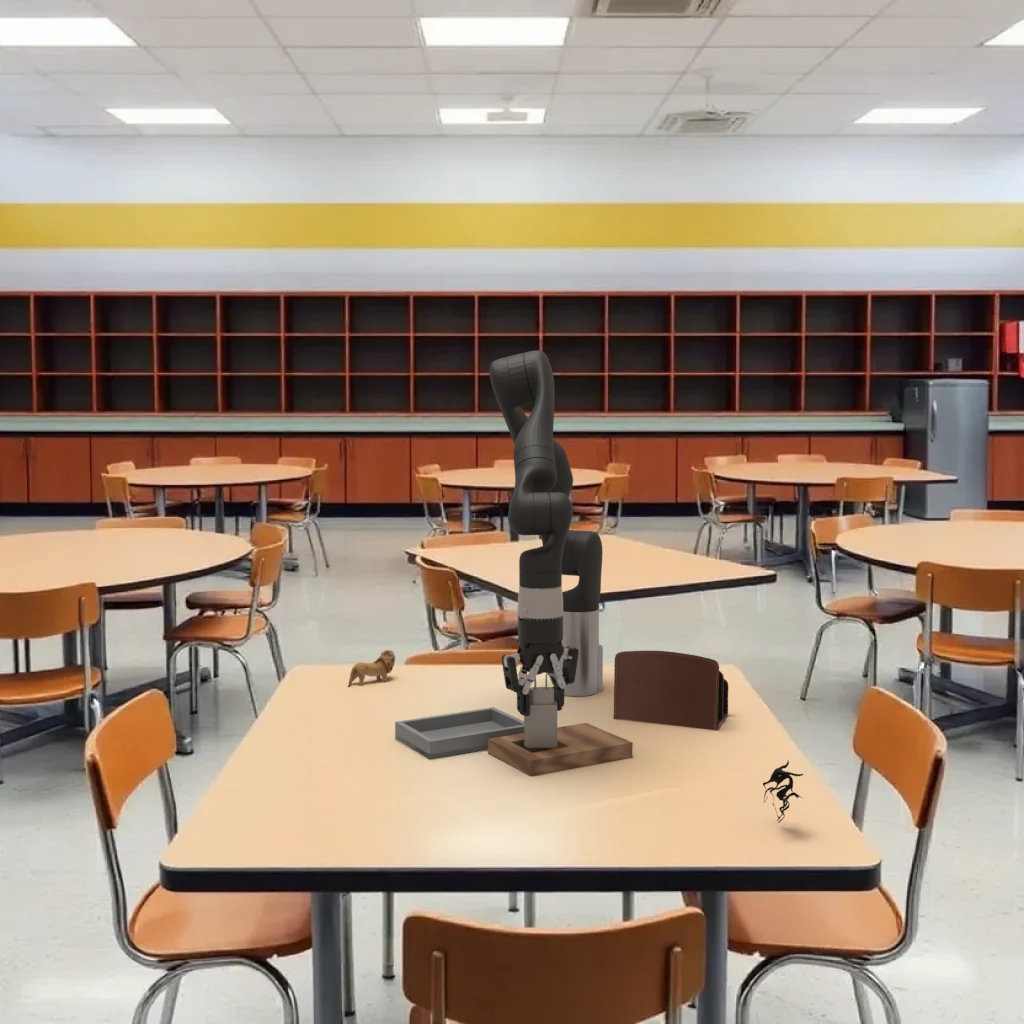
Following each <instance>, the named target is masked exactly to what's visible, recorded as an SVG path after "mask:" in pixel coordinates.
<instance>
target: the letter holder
mask: <svg viewBox="0 0 1024 1024" xmlns="http://www.w3.org/2000/svg"><path fill="white" fill-rule="evenodd" d="M613 675H614V681H613V682H614V685H613V686H614V687H613V715H612V716H613V717H612V718H613V719H614V720H621V721H630V722H638V723H645V724H654V725H655V724H656V725H663V726H665V725H666V726H671V727H683V728H691V729H701V730H706V731H707V730H708V731H718V730H719V729H720V728H721V726H722V725H723V724H724V722H725V721H727V720H726V719H727V718H728V717H729V682H728V681H727V679H725V675H724V674H723V673H722V672H721V671H720V664H719V663H718V661H717V660H715V659H713V658H709V657H704V656H700V655H695V654H690V653H682V652H675V651H669V650H668V651H665V650H629V651H628V650H627V651H626V650H625V651H620V652H619V651H618V652H617V653H616V654H615V655H614V674H613Z"/></svg>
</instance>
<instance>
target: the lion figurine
mask: <svg viewBox="0 0 1024 1024" xmlns="http://www.w3.org/2000/svg"><path fill="white" fill-rule="evenodd" d="M395 662H396V656H395V653H394V651H393V650H391V649H384V650H383V651H381V652H380V655H379V657H378V658H377V659H376V660H375V661H373V662H358V663H355V665H353V666H352V668H351V670H350V675H349V679H348V685H347V688H351V686H352V684H353V682H354V681H355V680H356V679H357V678H358V679H359V682H358V685H359V686H361V687H363V686H364V680H365V679H366V678H365V677H366V676H367V677H376V678H375V679H376V681H378V682H380V681H381V682H382V683H387V679H388V678H387V677H388V674H390V673H391V672H392V671H393V669H394V666H395ZM381 678H382V680H381Z"/></svg>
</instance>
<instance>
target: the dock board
mask: <svg viewBox="0 0 1024 1024" xmlns="http://www.w3.org/2000/svg"><path fill="white" fill-rule="evenodd" d="M487 754H488V755H491V756H492V757H494V758H496V759H498V760H500V761H502V762H504V763H505V764H507V765H509V766H511V767H513V768H515V769H517V770H518V771H519V772H522V773H524V774H526V775H528V776H529V777H533V776H538V775H543V774H549V773H555V772H559V771H565V770H570V769H575V768H580V767H581V768H582V767H586V766H593V765H597V764H603V763H607V762H608V763H609V762H613V761H617V760H624V759H628V758H629V759H630V758H633V741H630V740H628V739H626V738H623V737H621V736H618V735H616V734H613V733H611V732H609V731H607V730H605V729H602V728H599V727H597V726H594V725H592V724H590V723H587V722H582V723H576V724H571V725H565V726H557V747H543V748H527V747H525V744H524V733H521V734H515V735H509V736H503V737H496V738H490V739H488V749H487Z"/></svg>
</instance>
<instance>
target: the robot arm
mask: <svg viewBox="0 0 1024 1024" xmlns="http://www.w3.org/2000/svg"><path fill="white" fill-rule="evenodd" d="M489 379H490V380H489V381H490V384H491V387H492V390H493V394H494V396H495V398H496V399H495V400H496V401H497V404H498V407H499V409H500V411H501V414H502V417H503V419H504V422H505V425H506V426H507V428H508V431H509V434H510V438H511V440H512V442H513V457H512V458H513V465H514V467H513V468H514V476H515V478H514V479H515V480H514V487H513V493H512V497H511V499H510V503H509V507H508V511H507V512H508V513H507V520H508V525H509V526H510V528H511V530H512V531H513V532H514V533H516V534H517V535H520V536H540V539H541V543H542V545H541V546H539V547H534V548H530V549H526V550H524V551H522V552H521V553H520V555H519V560H518V561H519V562H518V563H519V564H518V568H519V570H518V571H519V572H518V573H519V575H518V576H519V579H518V581H519V583H518V585H519V586H518V587H519V589H518V595H517V639H518V644H519V645H518V649H517V650H516V652H515V653H512V654H510V655H509V654H503V655H502V656H501V664H502V671H503V676H504V677H503V678H504V684H505V688H506V689H507V690H510V691H512V692H514V693H516V709H517V712H518V713H519V714H520V715H521V716H522V717H524V716H529V715H530V694H528V692H529V689H530V688H531V687H532V683H534V680H535V678H536V679H537V675H542V674H544V673H545V674H547V676H548V677H549V679H550V683H551V684H552V685H553V686H551V688H554V700H555V701H557V712H559V711H562V710H563V707H564V706H565V697H566V696H567V697H588V696H593V695H596V694H598V693H600V692H603V690H604V689H603V688H604V687H603V683H604V682H603V677H604V675H603V674H604V673H603V672H604V671H603V670H604V668H603V667H604V664H603V663H604V661H603V660H604V658H603V657H604V647H603V645H602V644H600V599H601V598H600V597H601V591H602V588H601V587H602V567H603V542H602V539H601V536H600V535H599V534H598V533H597V532H596V531H593V530H592V531H589V530H578V529H577V530H575V529H574V530H573V529H570V528H571V523H572V520H573V514H574V511H573V510H574V509H573V504H572V501H571V500H570V494H571V492H572V489H573V485H574V477H573V473H572V470H571V466H570V462H569V458H568V456H567V453H566V450H565V449H564V447H563V445H562V444H560V442H558V441H557V440H556V439H555V438H554V423H555V421H554V420H555V379H554V373H553V369H552V366H551V362H550V361H549V358H548V356H547V354H546V353H545V352H544V351H542V350H531V351H525V352H522V353H518V354H513V355H510V356H506V357H501V358H498V359H495V360H494V361H492V362H491V364H490V367H489ZM531 404H534V405H533V408H532V410H531V412H530V414H529V415H528V416H527V414H526V413H525V412H524V409H523V408H522V407H523V406H526V405H531ZM562 576H574V577H575V576H576V577H578V583H577V585H576V586H574V587H573V588H571V589H568V590H565V591H563V587H562V586H563V583H562V582H563V581H562V579H563V578H562ZM519 662H520V663H521V665H520V669H519V671H517V670H518V669H517V667H518V666H519Z"/></svg>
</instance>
